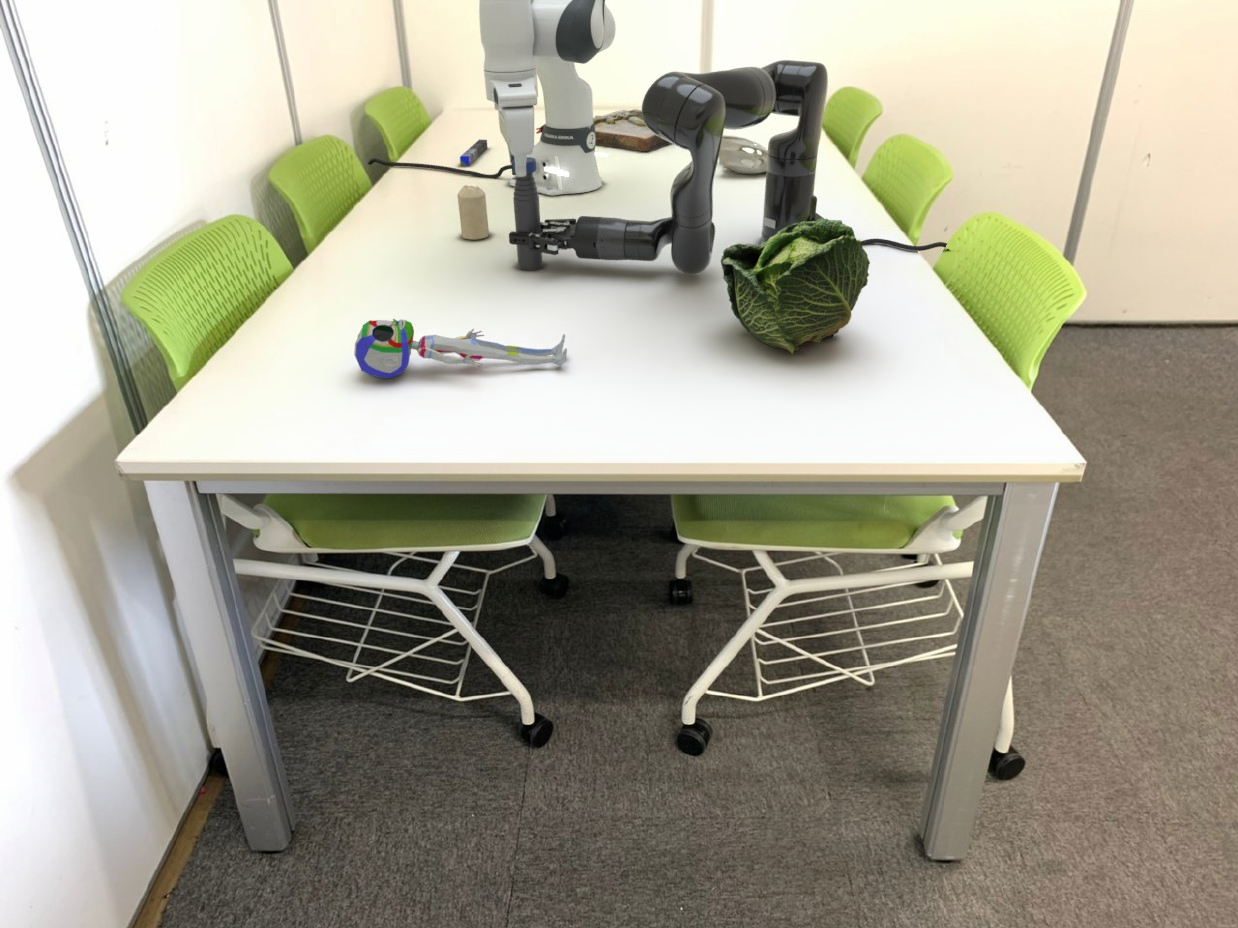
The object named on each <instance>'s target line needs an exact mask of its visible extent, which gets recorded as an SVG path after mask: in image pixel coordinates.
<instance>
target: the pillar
mask: <svg viewBox="0 0 1238 928" xmlns="http://www.w3.org/2000/svg"><path fill="white" fill-rule="evenodd" d="M487 149H488V140H487V139H478V140H477V141H476V142H474V144H473V145H471V146H470V147H469V148H468V149H467V150H466V151H465V152H463V154H461V155H460V156H459V163H460V164H459V165H460V166H461V167H465V166H466V167H467V166H470V165H472V164H473V162H475V161H476V160H477V158H479V157H480V156H481V155H482V154H483V153H484V152H485V151H486V150H487Z"/></svg>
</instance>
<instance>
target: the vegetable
mask: <svg viewBox="0 0 1238 928" xmlns="http://www.w3.org/2000/svg"><path fill="white" fill-rule="evenodd" d="M823 218H824V217H823ZM823 218H820V219H818V220H817V221H811V222H805V221H804V222H800V223H795V224H791V225H789V226H787V227H786V228H784V229H782V230H780V231H778V232H777V233H776V234H775V236H772V237H770V238H769V240H768V241H767V242H764V243H762V244H761V243H760V244H759V243H758V244H752V243H735V244H733V245H730V246H729V247H726V248H725V249H724V250H723V252H722V254H723V255H721V258H720V265H721V268H722V273H723V275H722V276H723V280H724V282H726V283H725V284H727V287H726V291H727V294H728V297H729V298H728V301H729V302H730V303H731V305H730V309H731V311H732V314H733V315H734V316H735V317H736V319H737V320H738V321H739V323H740V324H741V325H742V327H743V328H744V330H746V332H748V333H749V332H751V333H752V334H753V335H754V337H756V339H758V340H759V341H761V342H763V343H764V344H766V345H767V346H771V347H774V348H780V349H785V350H787V351H788V352H789V353H791V354H794V352H795V351H800V348H799V347H798V346H800V345H802V344H804V343H806V342H807V341H808V342H809V341H812V342H815V343H821V341H823V339H824V338H833V337H835V335H837V334H838V333H839V332H840V330H841V329H842V328H844V327H846V326H847V325H848V324H849V322H850V321H851V318H852V311H853V310H854V308H855V306H856V304H857V301H858V299H859V296H860V294H861V292H862V290H863V289H864V288H865V287H866V286H867V285H868V282H869V281H868V278H869V276H870V274H869V268H870V264H871V262H870V259H869V257H868V256H869V255H868V253H867V251H866V250H865V249H864V248H863V246H864V245H862V243H861V241H862V240H861V239H860V238H859V239H857V237H856V235H855V231H854V230H853V227H852V226H849V225H846V224H844V223H843V220H841V219H829V218H824V220H823Z"/></svg>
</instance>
